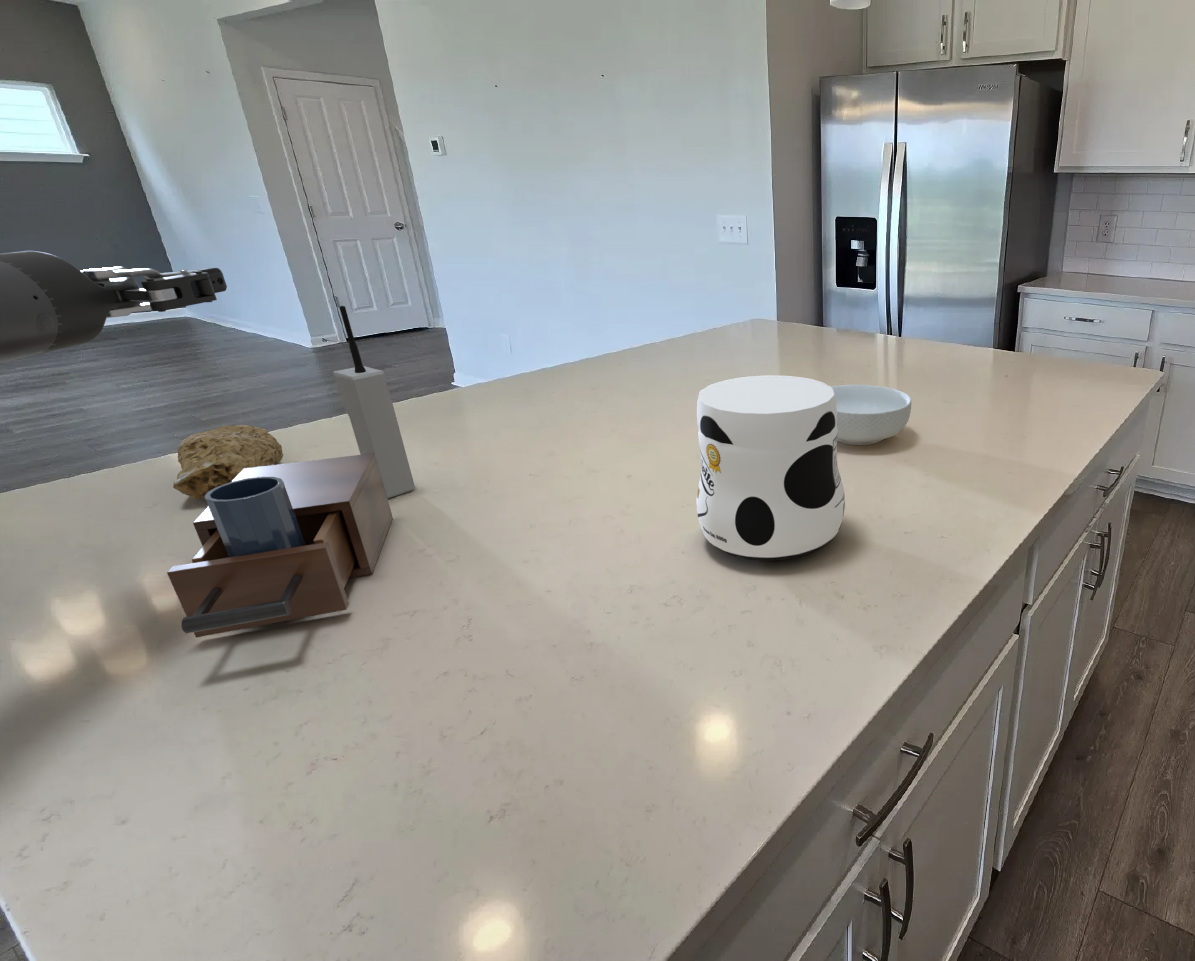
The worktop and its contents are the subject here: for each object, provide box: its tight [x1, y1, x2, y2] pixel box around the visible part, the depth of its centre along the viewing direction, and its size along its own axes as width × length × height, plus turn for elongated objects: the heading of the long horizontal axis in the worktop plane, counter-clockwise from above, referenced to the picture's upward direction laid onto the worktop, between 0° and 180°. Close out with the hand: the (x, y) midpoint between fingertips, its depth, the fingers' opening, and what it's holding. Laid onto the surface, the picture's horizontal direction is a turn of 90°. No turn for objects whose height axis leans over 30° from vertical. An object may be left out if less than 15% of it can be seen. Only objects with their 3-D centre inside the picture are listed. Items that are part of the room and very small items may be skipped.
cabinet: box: [192, 453, 394, 579], centre depth 78 cm, size 15×13×9 cm
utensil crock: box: [204, 477, 306, 557], centre depth 67 cm, size 6×6×11 cm
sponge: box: [173, 424, 284, 501], centre depth 97 cm, size 13×8×20 cm
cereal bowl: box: [829, 383, 912, 446], centre depth 115 cm, size 17×17×7 cm
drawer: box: [166, 510, 357, 639], centre depth 67 cm, size 20×12×7 cm, turn 24°
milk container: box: [696, 374, 846, 562], centre depth 81 cm, size 17×17×18 cm
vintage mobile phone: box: [332, 305, 416, 499], centre depth 90 cm, size 4×5×25 cm
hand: (173, 278), depth 68 cm, fingers open, 8 cm apart
